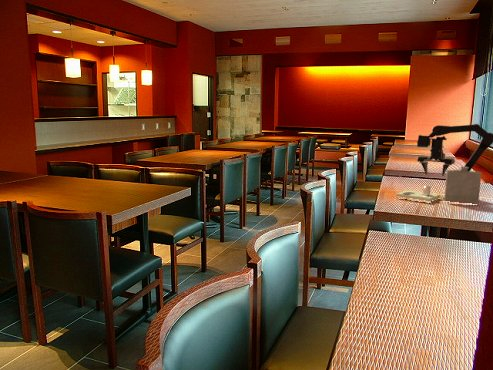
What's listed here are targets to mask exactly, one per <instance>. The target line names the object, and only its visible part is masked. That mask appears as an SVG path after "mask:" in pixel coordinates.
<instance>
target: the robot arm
mask: <svg viewBox="0 0 493 370" xmlns="http://www.w3.org/2000/svg"><path fill="white" fill-rule="evenodd" d="M468 132H469V133H471V132H475V133H476V134H477V135H478V136H479V137H481V139H480V142H479V144H478V147H476V149H475V151H473V154H472V155H471V156H470V158H469V159H468V160H467V162H466V163H465V164H464V166H463V167H468V171H471V170H472V168H473V167H474V166H475V164H476V163H477V162H478V160H479V159H480V157H482V155H483V154H484V152H485V151H486V150H487V149H488V148H489V147H490V146H492V144H493V132H488V131H487V130H485V129H484V128H483V127H482V126H480V124H478V123H474V124H464V125H452V126H451V125H443V124H441V125H439V124H437V125H435V126H433V128H432V131H431V133H429V135H421V134H419V135H418V136H417V137H418V138H417V142H416V143H417V144H416V146H417V148H429V146H431V148H430V157H428V156H426V155H425V156H424V155H422V156H421V155H420V156H418V157H417V162H419V164H421V166H422V168H423V171H424V174H425V175H427V174H428V164H429V162H433V163H444V164H442V172H441V175H442V177H444V176H445V175H446V173H447V169H448V168H449V167H450V166H452V165H454V164H455V163H456V162H455V161H456V159H455V158H452V157H451V158H450V157H447V158H446V153H444V150H443V146H444V144H443V143H444V141H447V140H448V139H447V138H446V136H445V135H448V134H454V133H456V134H457V133H468ZM434 137H436V138H434ZM457 170H460V169H457Z"/></svg>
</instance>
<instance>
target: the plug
mask: <svg viewBox="0 0 493 370" xmlns="http://www.w3.org/2000/svg"><path fill="white" fill-rule="evenodd" d="M431 189H432V187H431V186H430V185H423V189H422V191H423V196H428V197H430V193H431Z"/></svg>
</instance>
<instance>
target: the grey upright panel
mask: <svg viewBox="0 0 493 370" xmlns="http://www.w3.org/2000/svg"><path fill="white" fill-rule="evenodd" d="M445 178H446V179H445V191H444V200H443V201H450V202H459V203H472V204H478V205H479V201H480V191H481V182H482V181H481V180H482V172H481V171H474V170H473V171H471V170H470V171H468V167H464V166H460V169H459V170H458V169H448V170H446V177H445Z"/></svg>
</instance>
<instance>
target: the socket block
mask: <svg viewBox="0 0 493 370" xmlns="http://www.w3.org/2000/svg"><path fill="white" fill-rule="evenodd" d="M397 196H400V197H406V198H413V199H419V200H426V201H432V200H435V199H438V198H440V197H441V194H437V193H431V192H430V197H428V196H423V192H422V191H417V190H410V189H407V190H403V191H401V192H397V193H396V197H397Z"/></svg>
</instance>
